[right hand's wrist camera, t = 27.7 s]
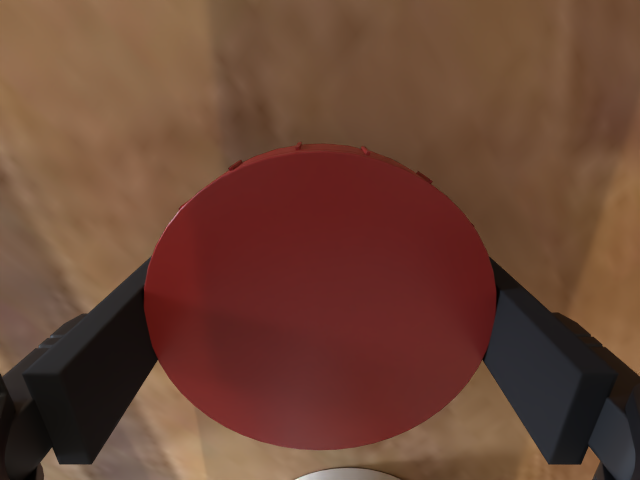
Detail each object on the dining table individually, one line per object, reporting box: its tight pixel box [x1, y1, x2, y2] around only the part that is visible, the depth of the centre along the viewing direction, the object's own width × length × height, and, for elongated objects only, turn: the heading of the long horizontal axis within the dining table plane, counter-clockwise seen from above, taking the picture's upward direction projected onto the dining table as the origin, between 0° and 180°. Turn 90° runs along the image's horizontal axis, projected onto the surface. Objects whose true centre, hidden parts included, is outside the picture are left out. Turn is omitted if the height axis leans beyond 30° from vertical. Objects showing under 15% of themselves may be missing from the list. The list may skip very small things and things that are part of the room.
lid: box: [144, 142, 497, 450], centre depth 11 cm, size 11×11×2 cm
